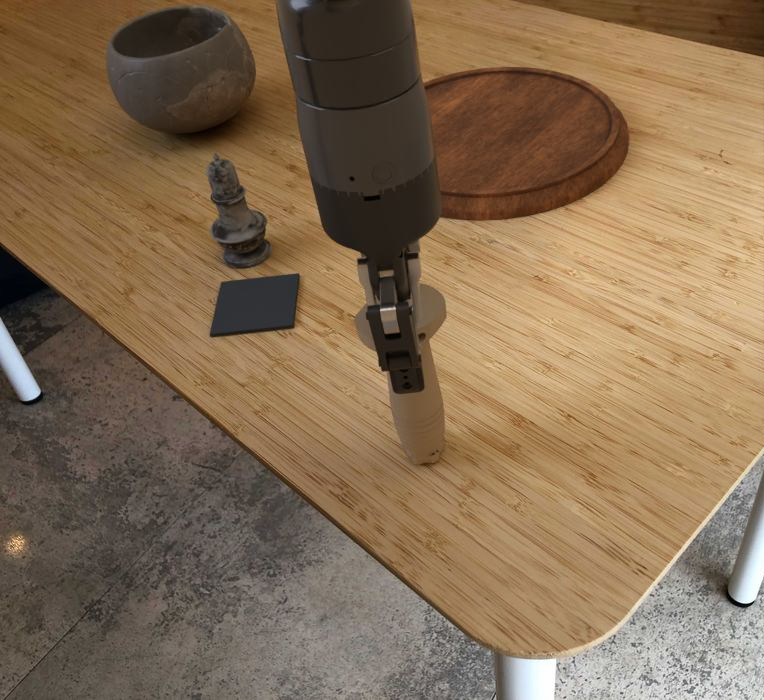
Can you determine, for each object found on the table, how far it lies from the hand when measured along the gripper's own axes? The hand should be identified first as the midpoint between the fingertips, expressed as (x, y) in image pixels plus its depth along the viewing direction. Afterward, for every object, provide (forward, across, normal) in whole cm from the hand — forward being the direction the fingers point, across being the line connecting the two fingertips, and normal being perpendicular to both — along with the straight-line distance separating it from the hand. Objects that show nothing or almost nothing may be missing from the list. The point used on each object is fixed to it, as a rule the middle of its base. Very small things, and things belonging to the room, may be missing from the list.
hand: (408, 358), depth 61 cm
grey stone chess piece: (+11, -30, -18) cm, 37 cm away
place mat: (+10, -21, -16) cm, 28 cm away
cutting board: (+11, -47, +10) cm, 49 cm away
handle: (+11, 0, 0) cm, 11 cm away
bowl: (+11, -61, -28) cm, 68 cm away
